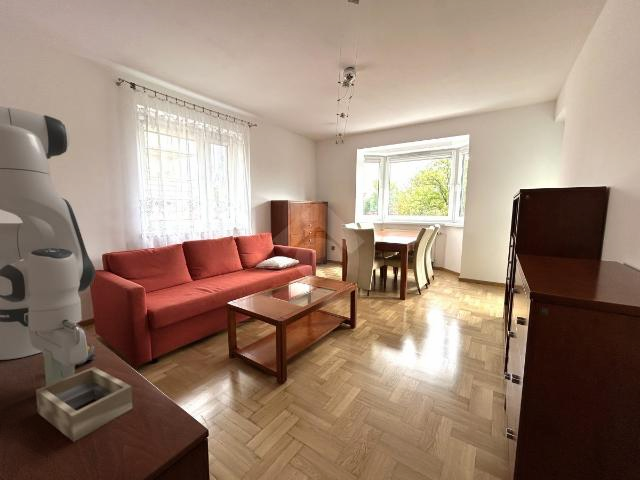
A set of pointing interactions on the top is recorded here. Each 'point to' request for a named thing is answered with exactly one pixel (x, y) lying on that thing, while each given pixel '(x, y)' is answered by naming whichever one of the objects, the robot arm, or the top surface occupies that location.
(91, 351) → the drill bit
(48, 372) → the peg
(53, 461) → the top surface
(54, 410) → the box
